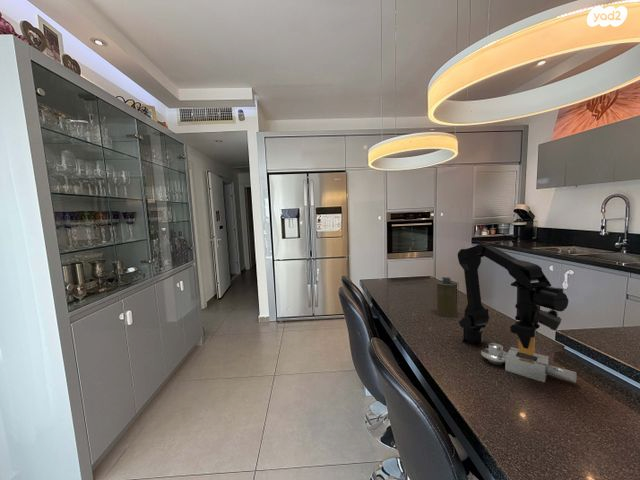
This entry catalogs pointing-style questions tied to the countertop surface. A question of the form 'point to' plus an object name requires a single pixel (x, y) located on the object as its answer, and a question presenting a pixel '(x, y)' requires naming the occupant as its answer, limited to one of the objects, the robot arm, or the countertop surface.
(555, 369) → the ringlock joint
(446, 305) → the canister
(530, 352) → the wedge
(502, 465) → the countertop surface
